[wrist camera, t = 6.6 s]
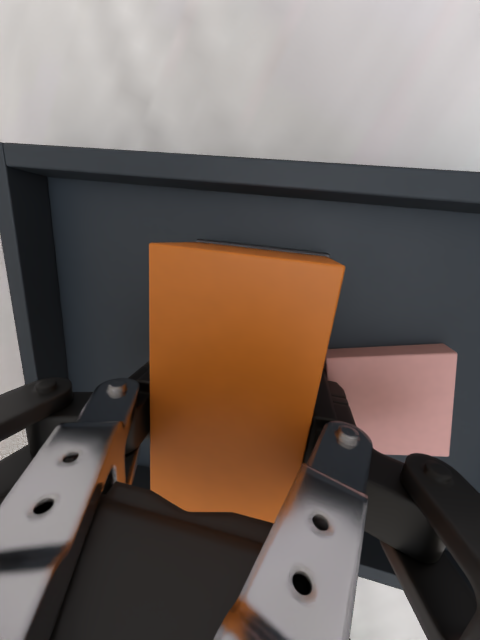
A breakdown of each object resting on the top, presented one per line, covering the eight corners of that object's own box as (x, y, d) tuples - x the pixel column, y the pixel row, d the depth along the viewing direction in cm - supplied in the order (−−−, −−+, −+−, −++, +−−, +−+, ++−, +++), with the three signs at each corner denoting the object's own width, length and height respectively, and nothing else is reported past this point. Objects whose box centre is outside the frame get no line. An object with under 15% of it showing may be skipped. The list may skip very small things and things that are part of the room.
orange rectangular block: (192, 450, 14) (147, 540, 10) (204, 238, 11) (144, 237, 7) (284, 472, 13) (279, 581, 9) (327, 252, 10) (352, 261, 6)
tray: (73, 447, 17) (40, 478, 15) (42, 159, 12) (-16, 140, 10) (480, 560, 13) (517, 625, 11) (685, 206, 8) (831, 192, 6)
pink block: (328, 437, 12) (330, 453, 11) (323, 348, 11) (325, 358, 10) (437, 439, 11) (450, 457, 10) (443, 342, 10) (458, 352, 9)
